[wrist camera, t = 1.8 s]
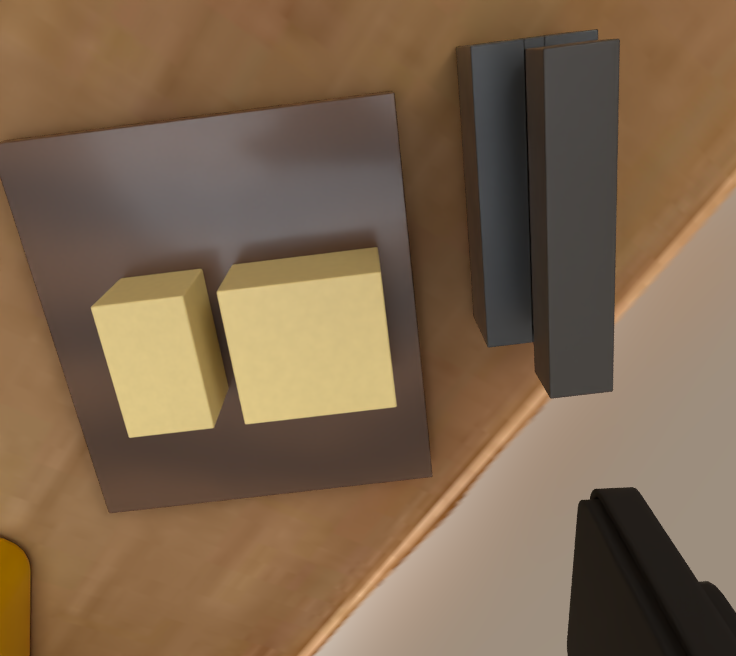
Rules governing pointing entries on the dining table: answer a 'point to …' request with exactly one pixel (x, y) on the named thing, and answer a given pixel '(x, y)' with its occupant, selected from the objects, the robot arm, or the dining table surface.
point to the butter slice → (162, 352)
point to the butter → (308, 335)
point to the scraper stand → (499, 182)
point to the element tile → (14, 600)
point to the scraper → (573, 211)
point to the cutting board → (215, 257)
